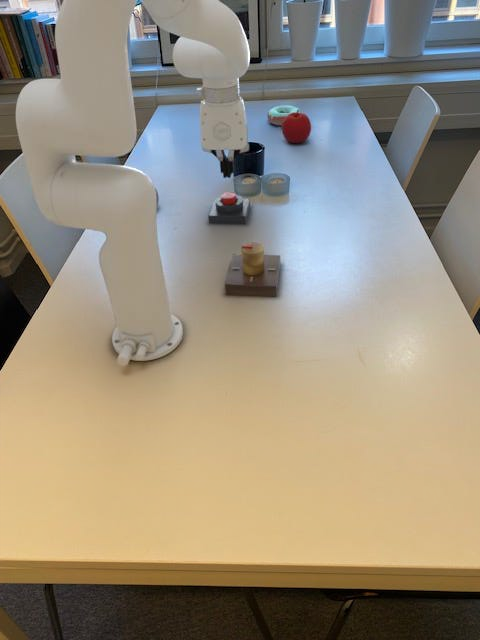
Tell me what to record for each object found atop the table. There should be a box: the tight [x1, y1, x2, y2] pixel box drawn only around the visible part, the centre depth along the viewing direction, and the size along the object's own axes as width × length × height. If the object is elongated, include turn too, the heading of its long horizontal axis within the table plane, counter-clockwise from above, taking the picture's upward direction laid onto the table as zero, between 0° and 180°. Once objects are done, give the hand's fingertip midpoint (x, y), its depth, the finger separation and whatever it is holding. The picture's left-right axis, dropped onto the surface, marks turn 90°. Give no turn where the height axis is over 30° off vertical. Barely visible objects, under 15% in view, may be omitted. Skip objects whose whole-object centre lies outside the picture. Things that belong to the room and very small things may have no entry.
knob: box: [240, 241, 265, 275], centre depth 97 cm, size 4×4×5 cm
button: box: [220, 191, 237, 204], centre depth 119 cm, size 4×4×2 cm
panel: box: [224, 253, 281, 298], centre depth 99 cm, size 11×10×3 cm
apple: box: [281, 109, 312, 144], centre depth 154 cm, size 9×9×10 cm
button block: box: [208, 194, 251, 225], centre depth 121 cm, size 9×9×4 cm
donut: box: [266, 105, 302, 127], centre depth 171 cm, size 12×12×4 cm
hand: (227, 175), depth 116 cm, fingers closed
